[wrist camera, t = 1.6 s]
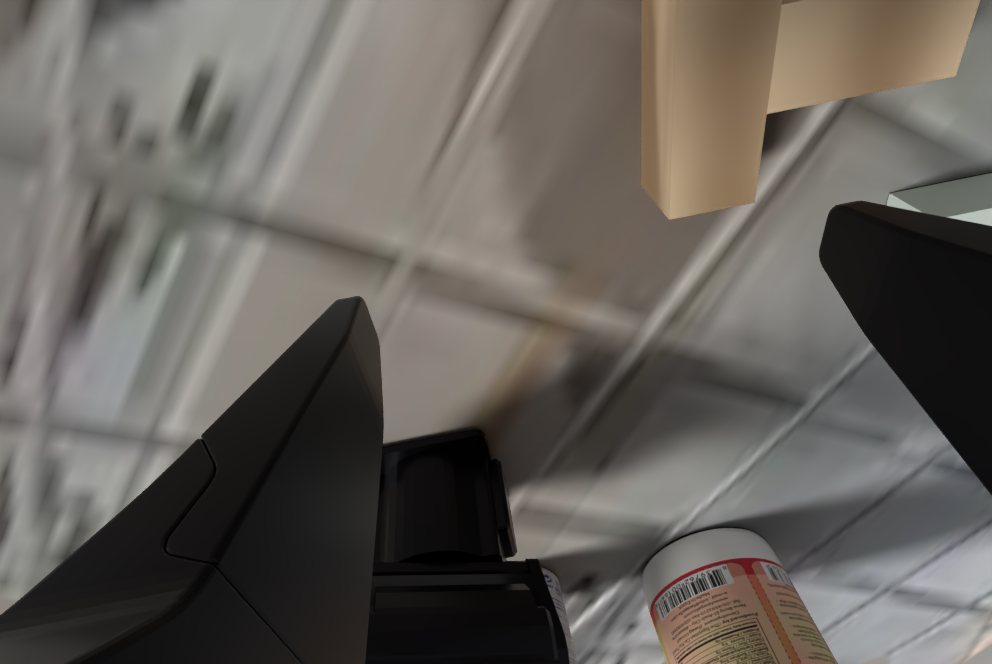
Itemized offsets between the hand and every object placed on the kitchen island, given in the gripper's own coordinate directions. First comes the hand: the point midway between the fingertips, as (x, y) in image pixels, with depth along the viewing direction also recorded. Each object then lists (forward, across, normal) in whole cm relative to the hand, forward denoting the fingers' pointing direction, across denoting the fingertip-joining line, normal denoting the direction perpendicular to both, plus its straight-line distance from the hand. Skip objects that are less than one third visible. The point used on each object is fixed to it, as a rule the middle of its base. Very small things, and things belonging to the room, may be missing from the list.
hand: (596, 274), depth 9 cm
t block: (+12, -9, 0) cm, 15 cm away
